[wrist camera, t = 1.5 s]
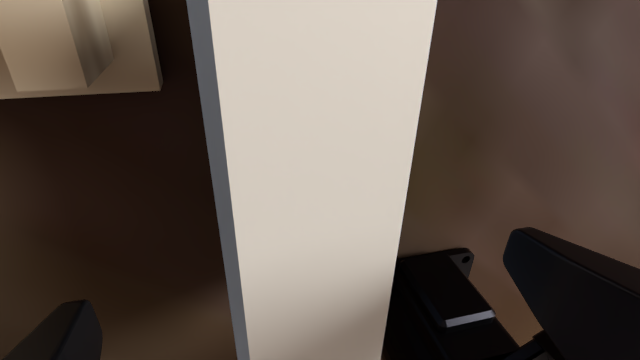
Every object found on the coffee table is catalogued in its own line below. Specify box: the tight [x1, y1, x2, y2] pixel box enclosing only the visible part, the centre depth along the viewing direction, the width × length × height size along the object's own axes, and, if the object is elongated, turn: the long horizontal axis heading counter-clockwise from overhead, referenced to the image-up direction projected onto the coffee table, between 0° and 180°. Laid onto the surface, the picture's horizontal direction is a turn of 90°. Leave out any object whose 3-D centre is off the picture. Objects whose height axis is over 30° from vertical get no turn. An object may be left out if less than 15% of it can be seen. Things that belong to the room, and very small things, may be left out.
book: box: [186, 0, 437, 360], centre depth 11 cm, size 11×4×8 cm, turn 179°
